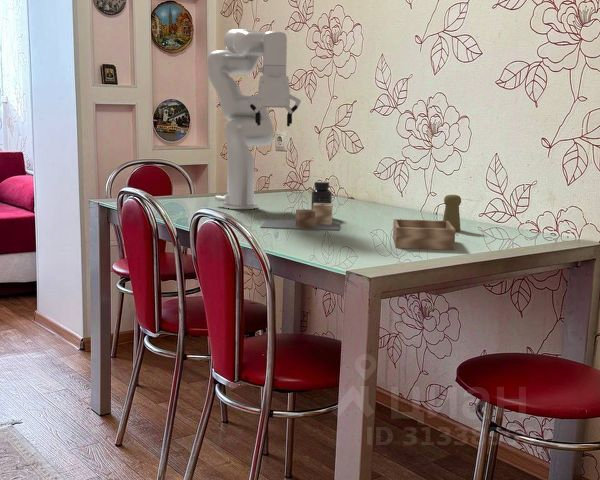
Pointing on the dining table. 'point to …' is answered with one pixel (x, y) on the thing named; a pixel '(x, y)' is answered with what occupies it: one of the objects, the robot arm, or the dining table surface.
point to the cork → (452, 211)
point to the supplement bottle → (321, 193)
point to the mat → (292, 225)
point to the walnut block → (305, 218)
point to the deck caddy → (423, 234)
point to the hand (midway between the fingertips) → (273, 125)
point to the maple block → (323, 213)
